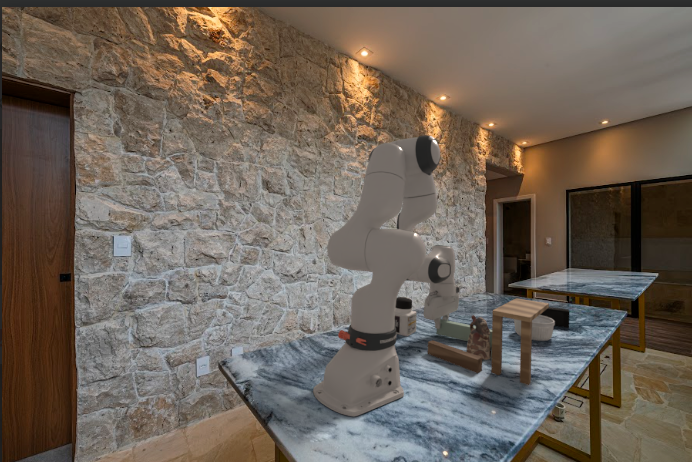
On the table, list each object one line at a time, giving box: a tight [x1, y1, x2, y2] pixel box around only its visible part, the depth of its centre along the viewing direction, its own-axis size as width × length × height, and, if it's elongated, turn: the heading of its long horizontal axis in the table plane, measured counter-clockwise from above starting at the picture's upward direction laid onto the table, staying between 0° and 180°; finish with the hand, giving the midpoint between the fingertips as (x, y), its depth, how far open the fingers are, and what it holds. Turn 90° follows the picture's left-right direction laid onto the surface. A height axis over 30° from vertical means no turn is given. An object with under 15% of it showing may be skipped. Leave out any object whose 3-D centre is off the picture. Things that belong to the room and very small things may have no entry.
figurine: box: [466, 315, 492, 361], centre depth 94 cm, size 7×7×12 cm
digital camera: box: [540, 306, 570, 329], centre depth 127 cm, size 10×5×7 cm, turn 58°
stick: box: [427, 340, 483, 374], centre depth 88 cm, size 3×16×4 cm, turn 40°
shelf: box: [490, 297, 550, 386], centre depth 86 cm, size 22×9×17 cm, turn 135°
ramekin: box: [513, 315, 555, 342], centre depth 112 cm, size 13×13×7 cm
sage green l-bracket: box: [436, 318, 492, 360], centre depth 100 cm, size 13×21×5 cm, turn 62°
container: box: [394, 296, 417, 337], centre depth 114 cm, size 8×8×13 cm
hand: (441, 326), depth 109 cm, fingers closed on sage green l-bracket, 3 cm apart
